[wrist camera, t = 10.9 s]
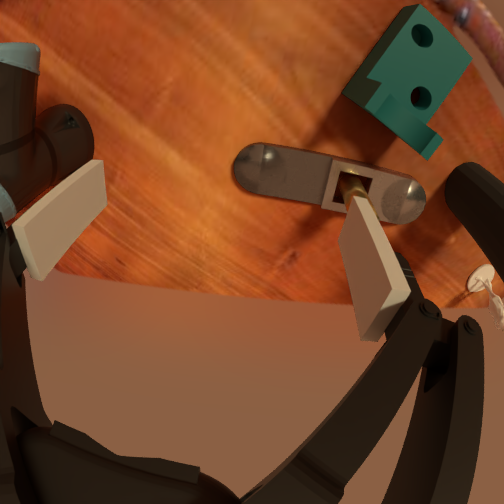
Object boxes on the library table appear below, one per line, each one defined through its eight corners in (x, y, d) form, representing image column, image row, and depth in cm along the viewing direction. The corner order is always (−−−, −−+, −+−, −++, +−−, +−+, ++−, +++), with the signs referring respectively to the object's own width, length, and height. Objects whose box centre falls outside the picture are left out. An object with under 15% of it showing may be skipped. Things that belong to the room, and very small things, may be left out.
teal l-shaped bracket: (396, 135, 38) (427, 160, 30) (341, 93, 35) (364, 107, 27) (454, 55, 28) (496, 64, 20) (403, 6, 25) (441, 0, 17)
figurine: (474, 263, 48) (510, 327, 34) (498, 264, 47) (534, 323, 33) (462, 291, 53) (490, 355, 39) (486, 290, 52) (515, 349, 38)
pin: (335, 192, 44) (348, 232, 35) (341, 171, 42) (356, 207, 33) (357, 196, 44) (374, 237, 35) (363, 176, 42) (383, 213, 33)
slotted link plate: (233, 186, 46) (230, 193, 44) (237, 139, 41) (235, 143, 39) (411, 221, 45) (415, 228, 44) (426, 180, 41) (432, 186, 39)
